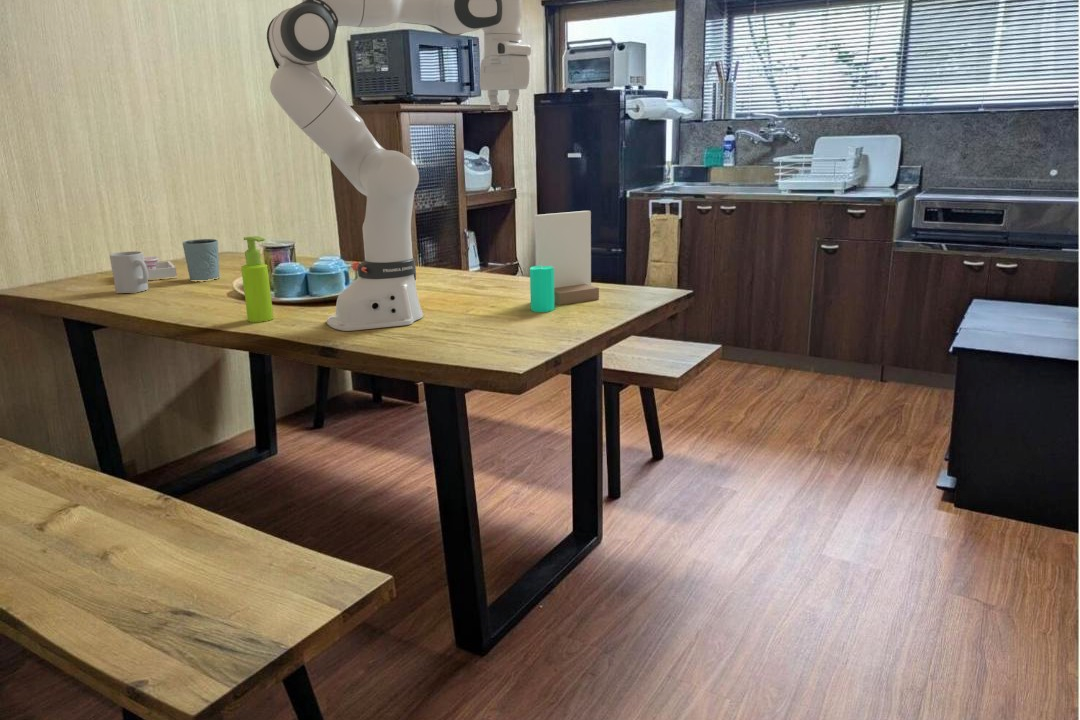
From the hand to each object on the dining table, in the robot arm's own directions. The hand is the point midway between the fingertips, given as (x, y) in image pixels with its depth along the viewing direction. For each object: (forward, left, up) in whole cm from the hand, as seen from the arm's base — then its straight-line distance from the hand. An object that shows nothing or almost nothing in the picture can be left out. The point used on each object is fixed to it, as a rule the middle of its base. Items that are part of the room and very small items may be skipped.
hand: (503, 110), depth 189 cm
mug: (-81, +76, -48) cm, 121 cm away
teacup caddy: (-76, +100, -47) cm, 135 cm away
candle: (+3, -13, -48) cm, 49 cm away
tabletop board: (+15, -7, -47) cm, 50 cm away
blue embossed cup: (-61, +84, -48) cm, 115 cm away
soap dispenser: (-58, +17, -48) cm, 77 cm away
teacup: (-76, +100, -48) cm, 135 cm away
